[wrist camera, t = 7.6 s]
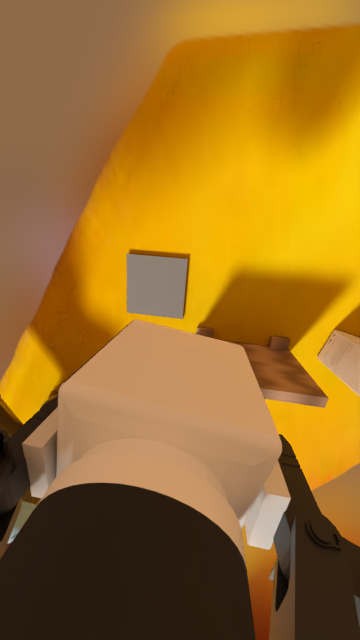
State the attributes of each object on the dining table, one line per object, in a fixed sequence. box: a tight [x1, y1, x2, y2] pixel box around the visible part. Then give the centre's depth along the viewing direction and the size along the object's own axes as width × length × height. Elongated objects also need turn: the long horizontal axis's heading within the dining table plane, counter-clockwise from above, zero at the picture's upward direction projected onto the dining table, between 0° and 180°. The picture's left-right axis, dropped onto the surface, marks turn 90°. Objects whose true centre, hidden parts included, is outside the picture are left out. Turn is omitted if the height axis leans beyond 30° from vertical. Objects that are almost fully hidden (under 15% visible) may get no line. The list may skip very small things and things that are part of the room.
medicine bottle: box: [0, 320, 282, 640], centre depth 8 cm, size 7×7×12 cm
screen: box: [197, 327, 328, 408], centre depth 33 cm, size 18×6×14 cm, turn 85°
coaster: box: [127, 254, 188, 319], centre depth 38 cm, size 11×11×1 cm
